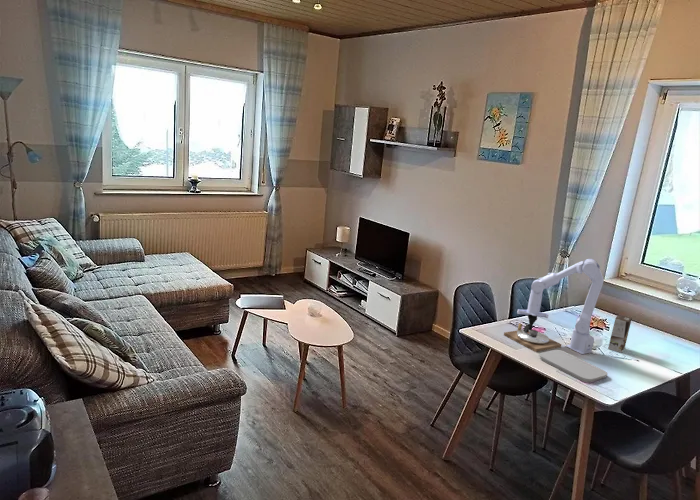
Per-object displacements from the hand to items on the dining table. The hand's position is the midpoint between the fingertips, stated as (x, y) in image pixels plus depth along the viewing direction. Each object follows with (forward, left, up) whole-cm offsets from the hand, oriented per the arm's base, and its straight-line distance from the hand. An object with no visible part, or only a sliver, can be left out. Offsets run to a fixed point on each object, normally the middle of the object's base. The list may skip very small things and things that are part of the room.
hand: (529, 329), depth 253 cm
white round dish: (-5, +3, -2) cm, 6 cm away
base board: (-5, +3, -4) cm, 7 cm away
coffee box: (-25, -35, -4) cm, 43 cm away
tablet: (-32, +9, -5) cm, 34 cm away
